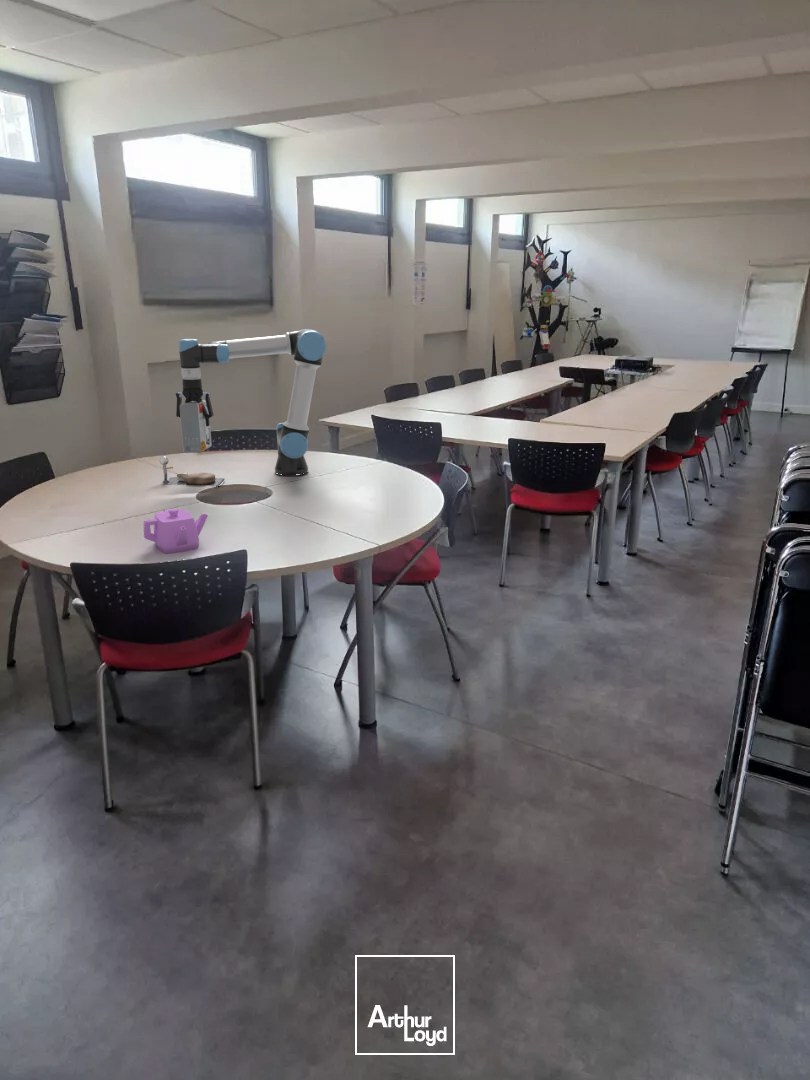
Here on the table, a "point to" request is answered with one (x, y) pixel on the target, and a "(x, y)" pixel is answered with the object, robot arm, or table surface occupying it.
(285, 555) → the table surface
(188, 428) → the hard drive box
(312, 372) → the robot arm
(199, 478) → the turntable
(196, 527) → the teakettle
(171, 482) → the dark grey rectangular plate
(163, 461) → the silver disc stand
